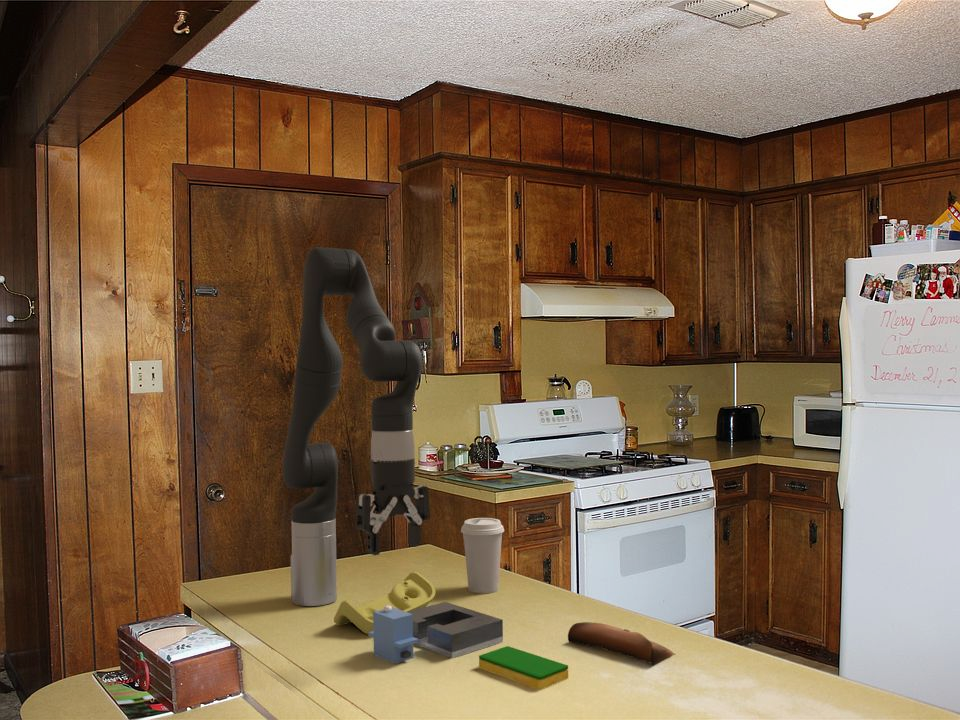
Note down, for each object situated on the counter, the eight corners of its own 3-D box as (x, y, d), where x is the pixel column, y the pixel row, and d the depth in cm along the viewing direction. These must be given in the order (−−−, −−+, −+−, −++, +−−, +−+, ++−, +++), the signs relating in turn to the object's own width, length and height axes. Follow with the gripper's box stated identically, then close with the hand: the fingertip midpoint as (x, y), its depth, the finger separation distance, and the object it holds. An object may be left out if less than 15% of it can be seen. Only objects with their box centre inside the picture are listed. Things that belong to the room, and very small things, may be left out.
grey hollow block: (395, 636, 162) (395, 615, 162) (445, 622, 170) (445, 601, 170) (452, 658, 150) (451, 634, 150) (502, 641, 158) (502, 619, 158)
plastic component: (374, 626, 161) (339, 595, 166) (364, 658, 163) (330, 626, 169) (445, 594, 176) (410, 566, 182) (435, 623, 179) (401, 595, 184)
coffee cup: (478, 581, 200) (477, 515, 199) (513, 587, 194) (512, 519, 194) (452, 591, 192) (451, 522, 192) (488, 597, 186) (487, 527, 186)
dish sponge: (507, 659, 150) (507, 645, 150) (569, 680, 141) (569, 665, 141) (477, 670, 146) (477, 655, 146) (539, 692, 136) (539, 676, 136)
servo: (399, 665, 147) (399, 616, 147) (368, 652, 153) (368, 605, 153) (418, 660, 149) (418, 611, 149) (387, 647, 156) (386, 600, 156)
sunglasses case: (679, 653, 151) (668, 624, 148) (660, 684, 146) (648, 655, 144) (595, 631, 163) (583, 604, 161) (575, 658, 159) (562, 631, 156)
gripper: (411, 451, 159) (412, 540, 159) (345, 458, 149) (347, 553, 149) (438, 454, 153) (439, 546, 154) (372, 462, 144) (373, 561, 144)
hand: (394, 550), depth 151 cm, fingers open, 8 cm apart
